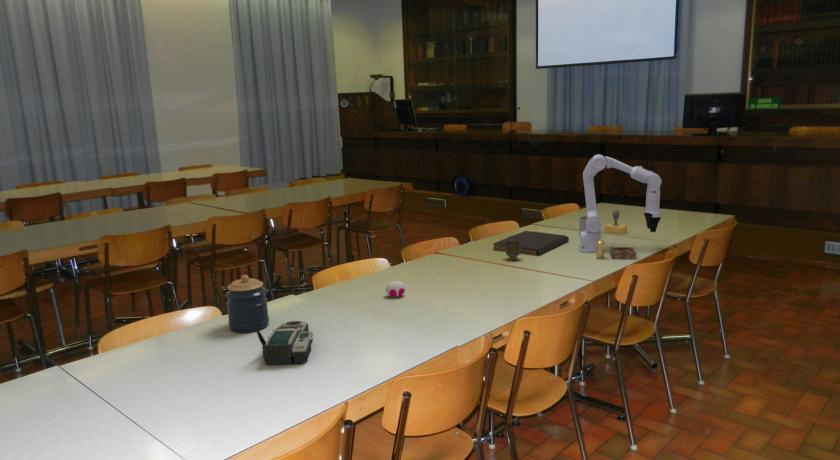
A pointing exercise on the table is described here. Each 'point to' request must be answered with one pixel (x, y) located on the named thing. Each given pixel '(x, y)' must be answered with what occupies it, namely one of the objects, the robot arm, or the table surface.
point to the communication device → (287, 343)
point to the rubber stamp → (615, 225)
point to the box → (622, 253)
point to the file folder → (533, 242)
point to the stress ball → (395, 288)
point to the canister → (247, 305)
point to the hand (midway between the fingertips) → (651, 230)
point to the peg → (600, 249)
